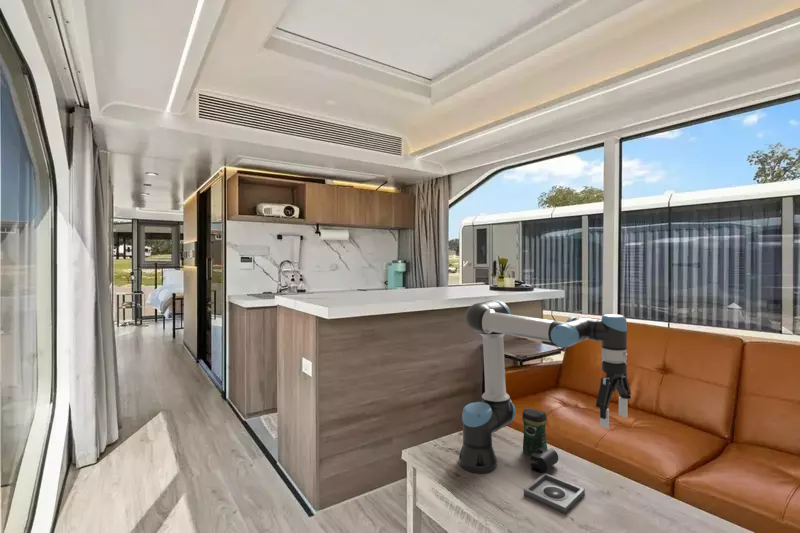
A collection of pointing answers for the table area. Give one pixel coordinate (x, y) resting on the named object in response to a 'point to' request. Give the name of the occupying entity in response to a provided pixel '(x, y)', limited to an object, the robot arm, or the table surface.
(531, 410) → the coffee jar
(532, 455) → the end cap
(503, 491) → the table surface
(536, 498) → the grey square tray
